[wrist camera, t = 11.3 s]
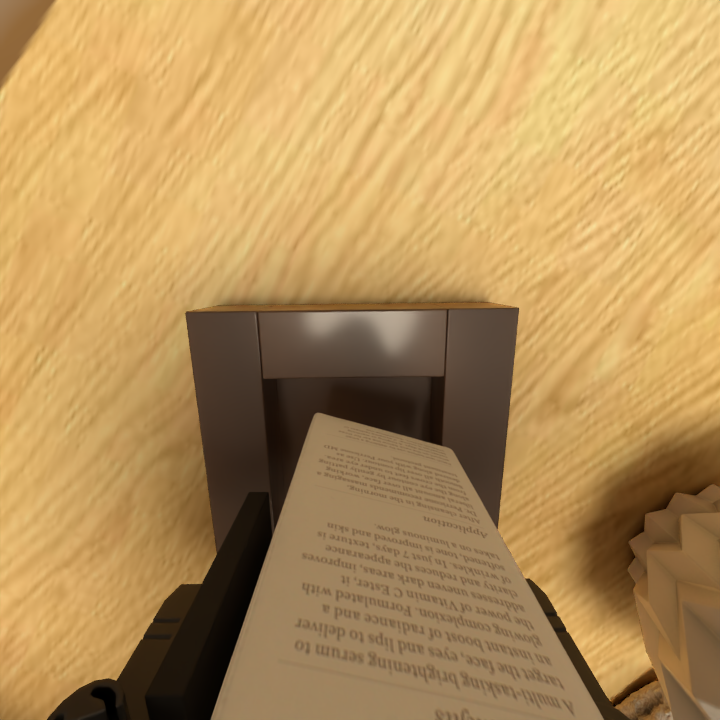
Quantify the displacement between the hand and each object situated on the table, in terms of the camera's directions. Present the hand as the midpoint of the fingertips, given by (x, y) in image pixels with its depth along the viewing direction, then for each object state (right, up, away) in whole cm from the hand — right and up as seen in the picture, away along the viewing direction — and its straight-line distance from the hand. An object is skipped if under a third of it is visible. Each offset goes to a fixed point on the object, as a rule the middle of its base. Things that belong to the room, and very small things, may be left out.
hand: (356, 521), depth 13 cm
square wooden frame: (0, +1, +6) cm, 6 cm away
